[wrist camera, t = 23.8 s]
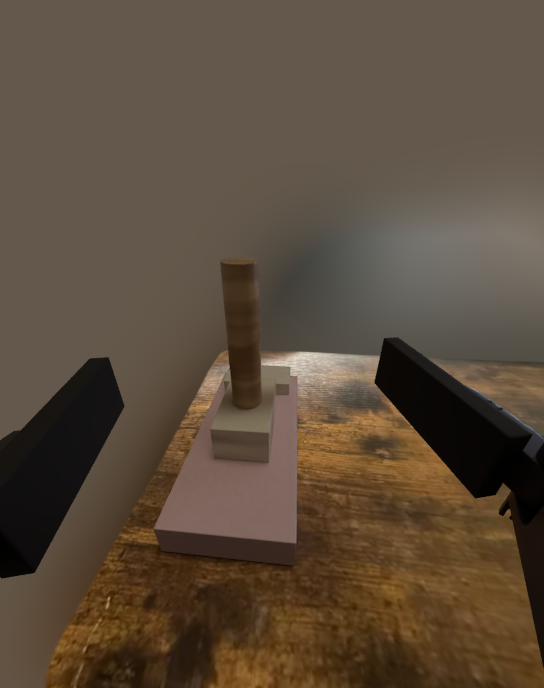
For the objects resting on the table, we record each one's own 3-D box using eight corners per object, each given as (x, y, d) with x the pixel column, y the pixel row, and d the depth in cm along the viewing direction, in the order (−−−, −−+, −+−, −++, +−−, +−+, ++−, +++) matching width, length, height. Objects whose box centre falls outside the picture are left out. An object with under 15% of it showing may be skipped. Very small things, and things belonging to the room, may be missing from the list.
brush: (269, 462, 23) (266, 271, 15) (214, 458, 23) (185, 270, 16) (276, 403, 30) (276, 253, 22) (233, 401, 30) (220, 253, 23)
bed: (294, 566, 18) (297, 530, 16) (161, 551, 19) (147, 515, 17) (296, 394, 36) (298, 366, 34) (227, 390, 37) (224, 362, 35)
